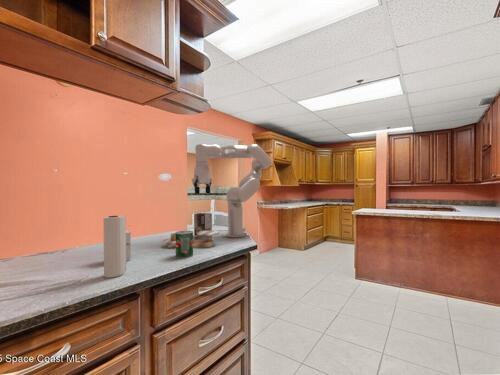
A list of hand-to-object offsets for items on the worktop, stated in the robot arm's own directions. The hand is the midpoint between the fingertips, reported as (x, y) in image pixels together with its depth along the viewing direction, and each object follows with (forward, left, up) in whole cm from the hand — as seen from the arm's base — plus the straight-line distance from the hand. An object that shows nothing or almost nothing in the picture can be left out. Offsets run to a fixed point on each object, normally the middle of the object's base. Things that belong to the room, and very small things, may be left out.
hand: (202, 193), depth 147 cm
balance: (+13, +3, -28) cm, 31 cm away
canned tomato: (+30, +15, -28) cm, 44 cm away
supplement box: (+50, -4, -28) cm, 57 cm away
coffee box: (0, 0, -28) cm, 28 cm away
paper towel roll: (+61, +12, -28) cm, 68 cm away
